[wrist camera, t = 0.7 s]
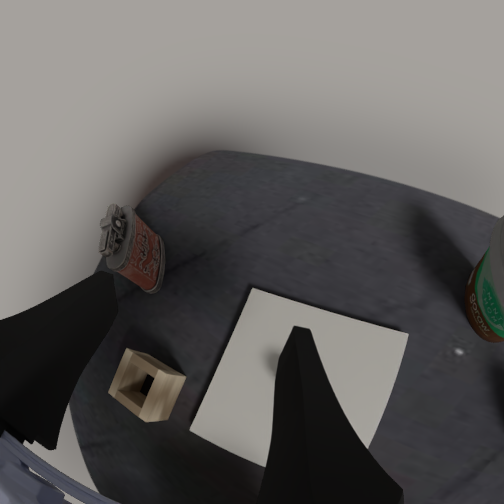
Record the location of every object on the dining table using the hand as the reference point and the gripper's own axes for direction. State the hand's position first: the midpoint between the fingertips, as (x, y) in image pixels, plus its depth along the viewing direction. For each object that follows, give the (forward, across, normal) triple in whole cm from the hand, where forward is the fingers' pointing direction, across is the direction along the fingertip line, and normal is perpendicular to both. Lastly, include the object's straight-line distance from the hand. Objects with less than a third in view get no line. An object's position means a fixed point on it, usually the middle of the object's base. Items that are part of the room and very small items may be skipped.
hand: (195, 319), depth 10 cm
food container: (+10, -26, +4) cm, 29 cm away
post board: (+6, -9, +14) cm, 18 cm away
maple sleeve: (+6, +5, +20) cm, 22 cm away
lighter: (+19, +11, +14) cm, 26 cm away
